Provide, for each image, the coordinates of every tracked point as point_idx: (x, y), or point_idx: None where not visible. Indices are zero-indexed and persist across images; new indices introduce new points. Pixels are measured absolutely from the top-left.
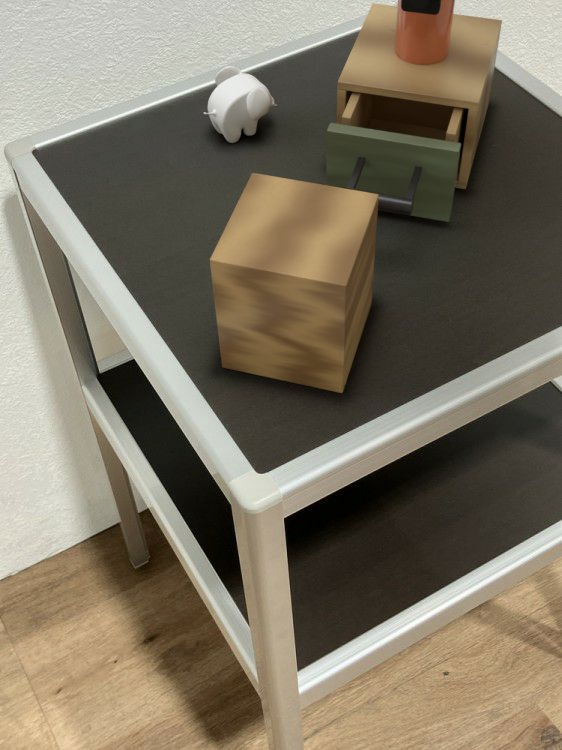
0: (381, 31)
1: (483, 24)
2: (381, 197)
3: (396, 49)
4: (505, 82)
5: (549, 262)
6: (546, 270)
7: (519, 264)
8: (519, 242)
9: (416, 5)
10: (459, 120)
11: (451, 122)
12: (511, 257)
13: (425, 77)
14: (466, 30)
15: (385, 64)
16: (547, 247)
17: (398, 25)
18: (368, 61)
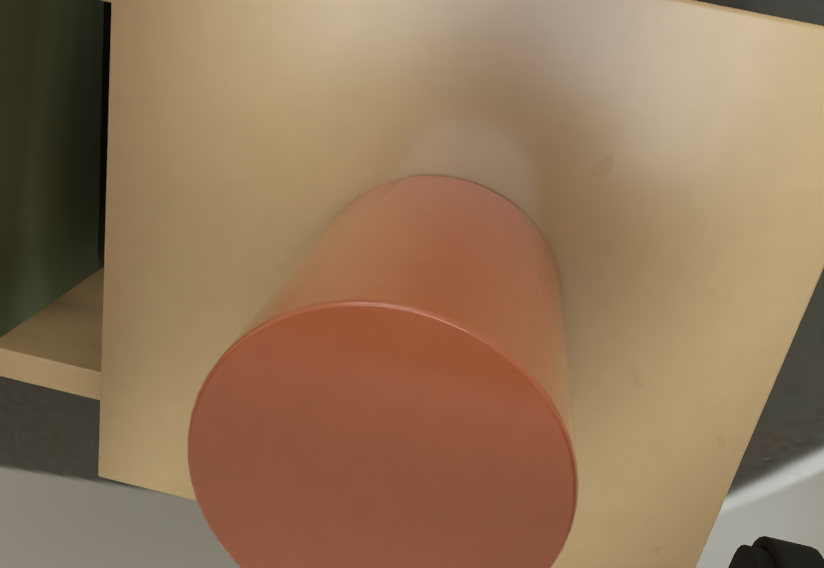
0: (593, 107)
1: (640, 554)
2: None
3: (375, 190)
4: (751, 460)
5: (33, 461)
6: (8, 452)
7: (10, 404)
8: (78, 412)
9: None
10: (70, 392)
11: (50, 366)
12: (26, 390)
13: (218, 305)
14: (591, 488)
15: (295, 131)
16: (77, 464)
17: (343, 232)
18: (307, 45)
